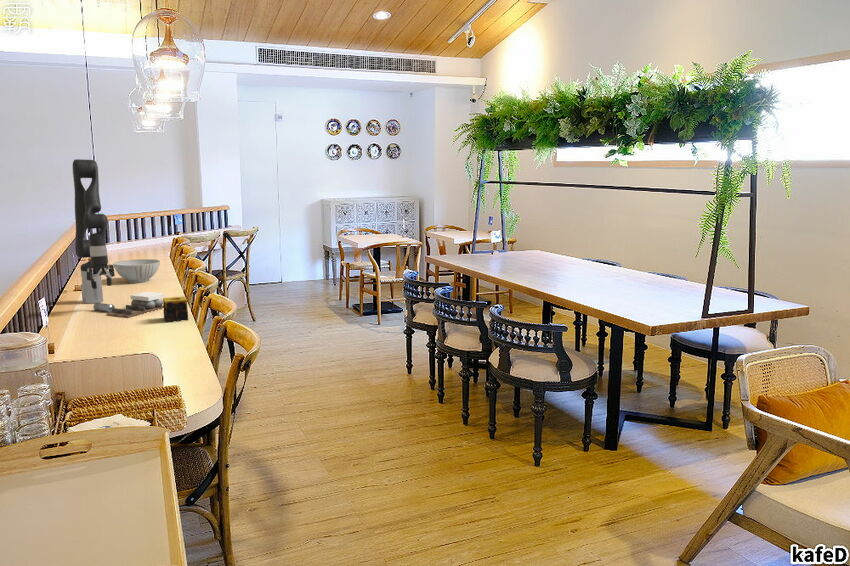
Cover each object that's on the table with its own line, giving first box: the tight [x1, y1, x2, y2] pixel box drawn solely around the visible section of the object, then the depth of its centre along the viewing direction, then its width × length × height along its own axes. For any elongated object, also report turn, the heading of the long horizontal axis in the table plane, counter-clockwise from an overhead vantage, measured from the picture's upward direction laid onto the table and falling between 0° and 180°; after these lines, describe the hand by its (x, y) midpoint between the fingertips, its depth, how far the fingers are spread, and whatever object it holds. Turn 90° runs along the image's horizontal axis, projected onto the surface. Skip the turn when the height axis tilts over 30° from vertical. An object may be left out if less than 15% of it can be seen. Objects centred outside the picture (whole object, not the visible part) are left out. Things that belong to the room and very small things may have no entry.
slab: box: [130, 291, 165, 301], centre depth 328 cm, size 12×10×2 cm
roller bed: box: [106, 298, 164, 319], centre depth 323 cm, size 14×24×5 cm, turn 156°
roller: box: [92, 302, 116, 313], centre depth 324 cm, size 10×4×4 cm, turn 66°
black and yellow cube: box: [162, 296, 189, 323], centre depth 306 cm, size 10×10×10 cm
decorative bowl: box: [112, 258, 161, 284], centre depth 407 cm, size 27×27×12 cm
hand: (102, 287), depth 322 cm, fingers open, 8 cm apart
